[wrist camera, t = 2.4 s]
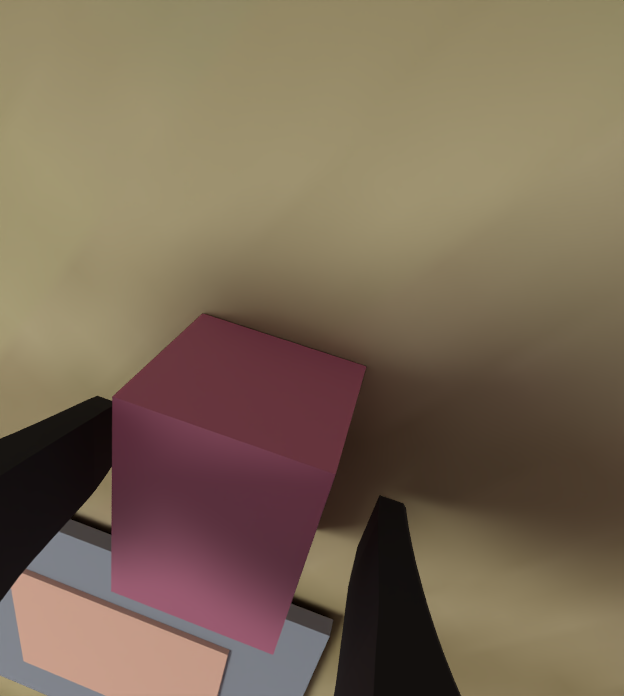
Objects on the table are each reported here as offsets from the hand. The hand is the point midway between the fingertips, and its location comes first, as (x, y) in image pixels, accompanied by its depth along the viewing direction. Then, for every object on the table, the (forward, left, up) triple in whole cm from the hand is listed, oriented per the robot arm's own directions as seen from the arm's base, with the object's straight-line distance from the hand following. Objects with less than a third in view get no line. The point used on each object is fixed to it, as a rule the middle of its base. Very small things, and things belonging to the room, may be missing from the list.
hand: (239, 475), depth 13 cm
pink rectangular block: (0, 0, -2) cm, 2 cm away
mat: (+4, +14, -2) cm, 15 cm away
